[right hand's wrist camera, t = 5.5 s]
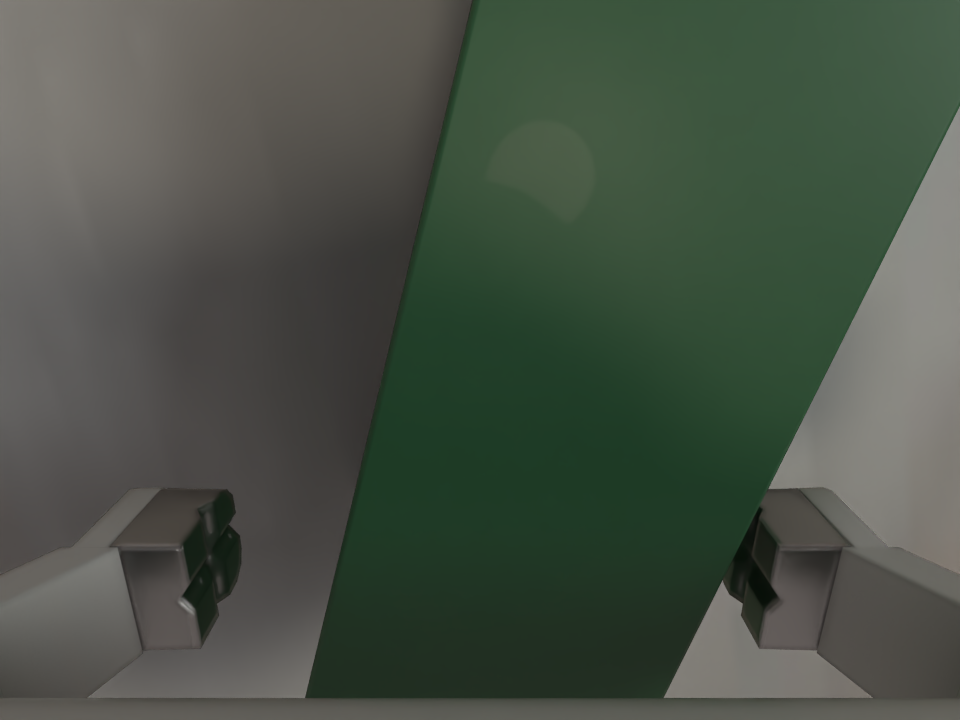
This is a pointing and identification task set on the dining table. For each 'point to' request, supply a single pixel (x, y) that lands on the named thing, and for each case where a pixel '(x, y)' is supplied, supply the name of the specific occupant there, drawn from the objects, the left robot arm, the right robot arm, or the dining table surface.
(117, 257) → the dining table surface
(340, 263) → the dining table surface
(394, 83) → the dining table surface
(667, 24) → the elongated green cuboid
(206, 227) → the dining table surface
